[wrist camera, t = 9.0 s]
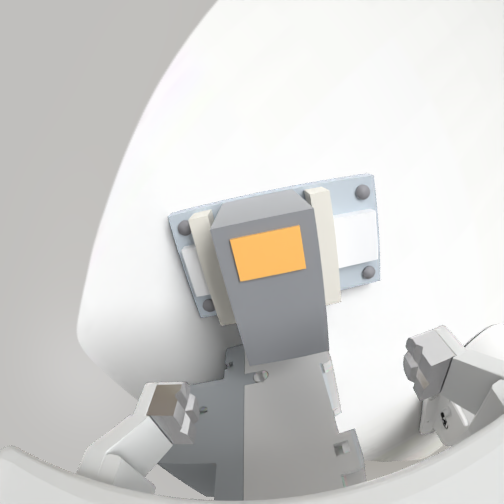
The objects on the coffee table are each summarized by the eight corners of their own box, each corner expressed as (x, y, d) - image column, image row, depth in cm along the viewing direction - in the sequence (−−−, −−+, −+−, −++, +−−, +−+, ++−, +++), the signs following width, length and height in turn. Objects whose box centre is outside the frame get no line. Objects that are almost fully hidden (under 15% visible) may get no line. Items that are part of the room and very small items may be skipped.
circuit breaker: (166, 360, 24) (124, 504, 9) (318, 323, 22) (372, 489, 8) (200, 406, 26) (183, 529, 12) (331, 378, 25) (368, 510, 11)
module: (309, 297, 20) (329, 352, 14) (249, 309, 20) (249, 368, 14) (292, 189, 17) (314, 209, 11) (222, 203, 17) (209, 230, 12)
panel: (374, 273, 21) (389, 291, 18) (203, 309, 21) (197, 331, 19) (366, 173, 18) (385, 178, 15) (172, 212, 19) (159, 223, 16)
